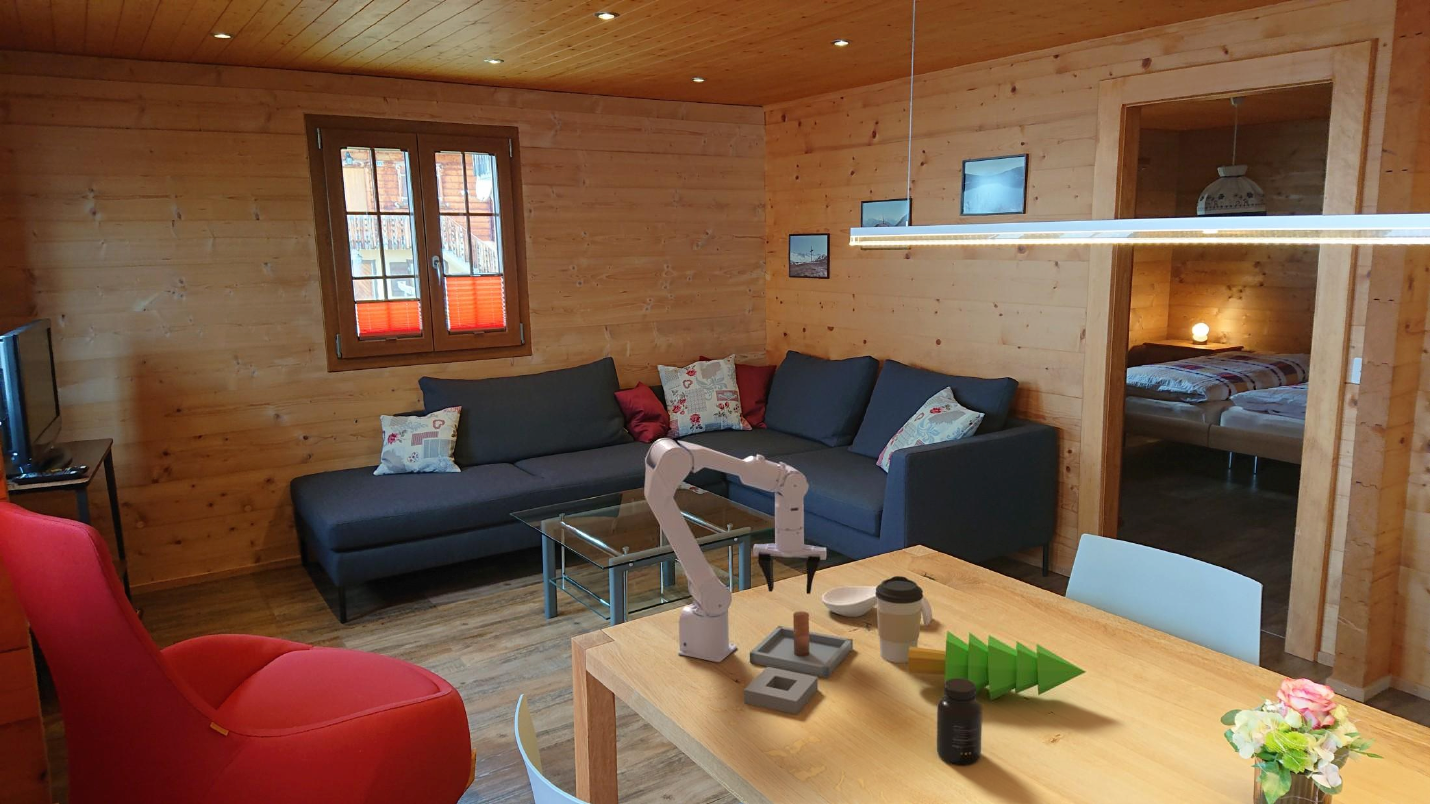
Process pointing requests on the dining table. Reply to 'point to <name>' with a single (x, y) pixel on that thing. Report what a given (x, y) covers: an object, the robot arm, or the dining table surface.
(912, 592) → the coffee cup
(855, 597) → the spoon rest
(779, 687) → the socket block
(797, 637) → the dowel pin
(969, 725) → the supplement bottle
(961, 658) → the decorative tree
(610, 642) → the dining table surface
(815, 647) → the tray
